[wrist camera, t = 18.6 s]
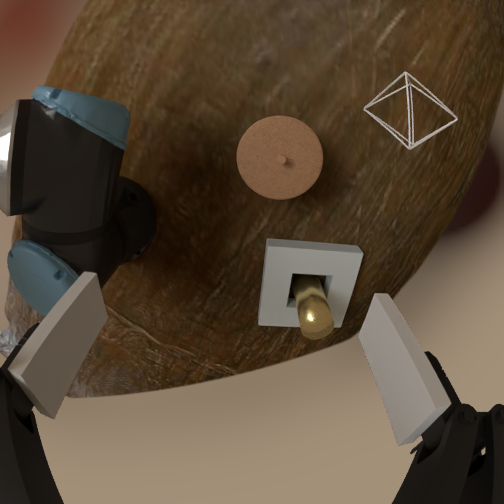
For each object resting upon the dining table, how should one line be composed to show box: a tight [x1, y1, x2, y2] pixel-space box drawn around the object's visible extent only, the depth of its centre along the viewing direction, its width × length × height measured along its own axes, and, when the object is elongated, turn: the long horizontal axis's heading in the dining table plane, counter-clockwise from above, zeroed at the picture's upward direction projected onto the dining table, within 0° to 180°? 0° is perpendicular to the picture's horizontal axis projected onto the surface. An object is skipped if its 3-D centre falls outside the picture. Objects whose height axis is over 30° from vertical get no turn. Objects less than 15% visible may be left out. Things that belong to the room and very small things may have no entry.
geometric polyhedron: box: [364, 72, 458, 150], centre depth 31 cm, size 12×11×9 cm
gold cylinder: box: [292, 274, 335, 339], centre depth 44 cm, size 5×5×12 cm
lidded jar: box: [237, 116, 323, 200], centre depth 35 cm, size 11×11×9 cm
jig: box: [258, 238, 363, 327], centre depth 48 cm, size 16×16×3 cm
